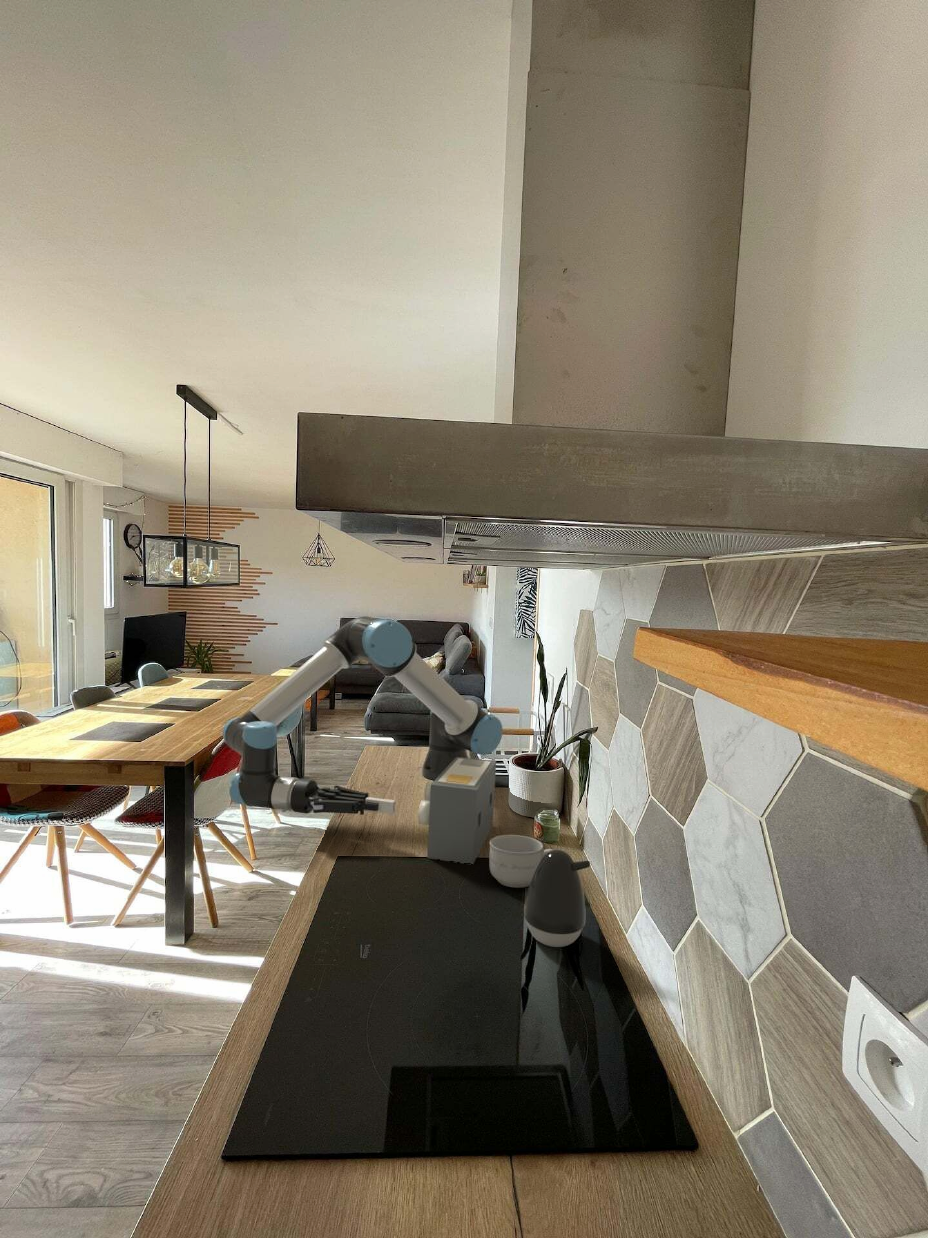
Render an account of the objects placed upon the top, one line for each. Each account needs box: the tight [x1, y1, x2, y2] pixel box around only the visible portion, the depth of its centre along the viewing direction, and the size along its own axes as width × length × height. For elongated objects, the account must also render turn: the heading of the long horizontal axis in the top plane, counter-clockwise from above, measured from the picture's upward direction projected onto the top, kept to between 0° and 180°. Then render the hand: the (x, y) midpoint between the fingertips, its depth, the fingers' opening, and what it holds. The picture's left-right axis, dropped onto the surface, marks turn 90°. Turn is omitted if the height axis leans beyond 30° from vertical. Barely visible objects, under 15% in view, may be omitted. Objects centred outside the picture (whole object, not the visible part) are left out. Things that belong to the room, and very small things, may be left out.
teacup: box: [488, 834, 553, 889], centre depth 130 cm, size 14×11×8 cm
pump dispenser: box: [524, 848, 591, 948], centre depth 110 cm, size 10×10×15 cm
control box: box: [426, 757, 497, 865], centre depth 150 cm, size 24×10×16 cm, turn 167°
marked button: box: [417, 799, 430, 826], centre depth 144 cm, size 5×8×5 cm, turn 77°
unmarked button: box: [423, 780, 434, 801], centre depth 158 cm, size 5×8×5 cm, turn 77°
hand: (393, 807), depth 146 cm, fingers closed
